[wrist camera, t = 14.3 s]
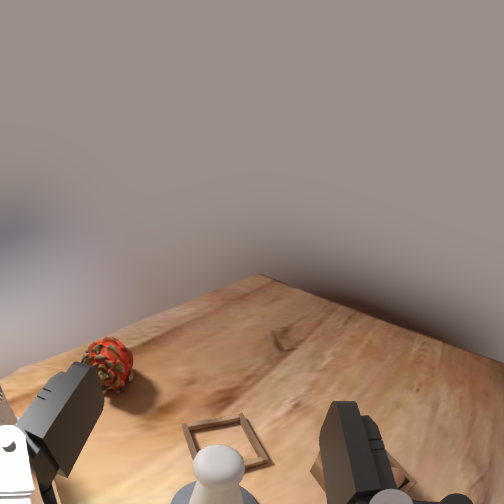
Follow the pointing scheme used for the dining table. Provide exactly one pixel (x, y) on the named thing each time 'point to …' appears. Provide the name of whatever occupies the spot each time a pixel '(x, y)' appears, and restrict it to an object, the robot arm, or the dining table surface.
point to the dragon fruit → (110, 363)
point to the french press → (6, 413)
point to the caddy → (400, 475)
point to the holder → (222, 421)
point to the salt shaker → (218, 476)
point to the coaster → (185, 493)
